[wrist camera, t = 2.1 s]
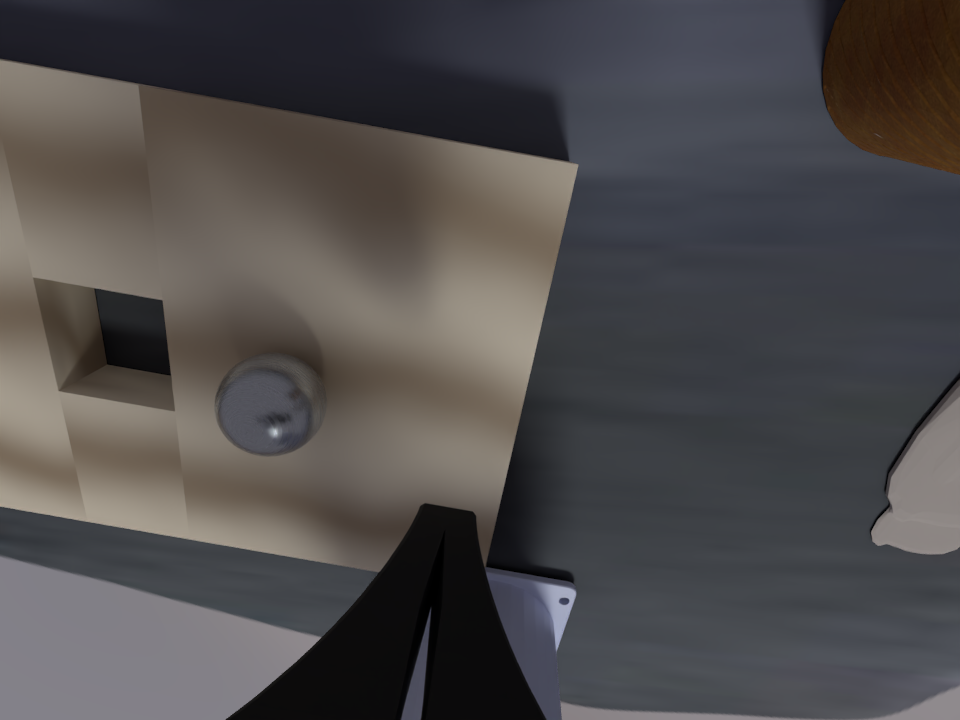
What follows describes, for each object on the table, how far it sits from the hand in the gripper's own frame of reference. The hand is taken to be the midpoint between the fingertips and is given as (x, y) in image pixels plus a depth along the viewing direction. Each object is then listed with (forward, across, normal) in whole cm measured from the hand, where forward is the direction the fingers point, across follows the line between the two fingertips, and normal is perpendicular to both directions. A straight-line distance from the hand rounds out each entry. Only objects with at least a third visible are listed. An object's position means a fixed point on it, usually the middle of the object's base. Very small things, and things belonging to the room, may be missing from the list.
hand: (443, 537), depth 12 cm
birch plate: (+9, +9, 0) cm, 13 cm away
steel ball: (+5, +6, 0) cm, 8 cm away
